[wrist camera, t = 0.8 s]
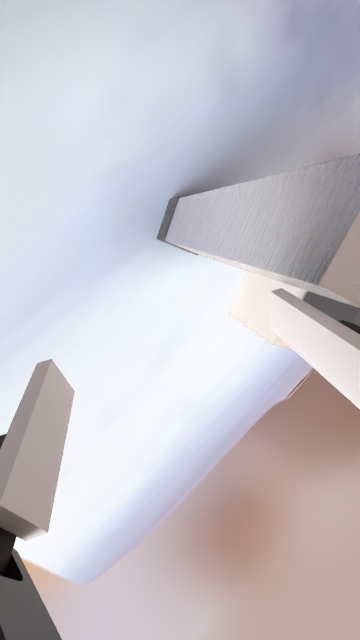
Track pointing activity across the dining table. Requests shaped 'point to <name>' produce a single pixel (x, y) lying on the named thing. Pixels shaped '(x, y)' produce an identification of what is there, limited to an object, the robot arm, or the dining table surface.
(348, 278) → the white tall square post
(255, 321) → the bevelled white plinth
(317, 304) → the knob
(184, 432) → the dining table surface
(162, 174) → the dining table surface
